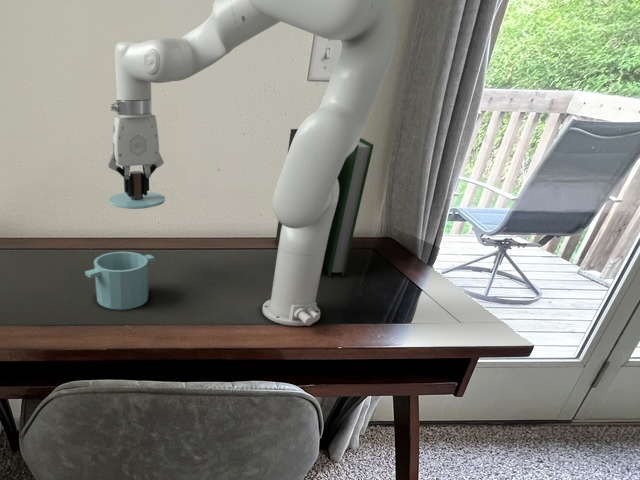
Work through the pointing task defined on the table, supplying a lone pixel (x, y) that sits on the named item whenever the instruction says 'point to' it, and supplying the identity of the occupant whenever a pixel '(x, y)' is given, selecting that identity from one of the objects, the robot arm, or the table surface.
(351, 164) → the green and black books
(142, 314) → the table surface
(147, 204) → the pot lid
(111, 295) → the pot
